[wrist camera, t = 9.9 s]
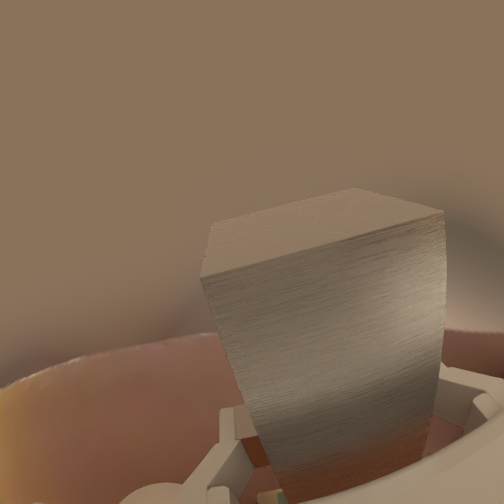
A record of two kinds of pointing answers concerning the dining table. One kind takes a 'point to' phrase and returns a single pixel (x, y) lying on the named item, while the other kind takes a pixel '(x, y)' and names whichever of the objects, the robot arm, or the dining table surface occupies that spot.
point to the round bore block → (154, 494)
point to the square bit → (333, 332)
